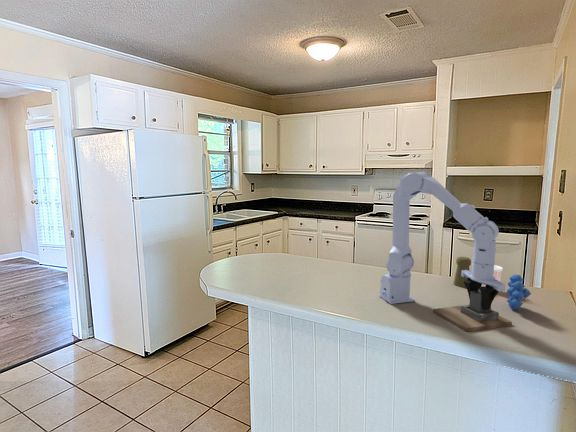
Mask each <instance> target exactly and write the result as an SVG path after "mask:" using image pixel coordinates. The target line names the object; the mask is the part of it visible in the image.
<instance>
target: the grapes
mask: <svg viewBox="0 0 576 432" xmlns="http://www.w3.org/2000/svg"><path fill="white" fill-rule="evenodd" d="M508 279H509V282H508V283H507V286H508V287H509V288H508V289H507V290H506V292H505V293H506V294H507V296H508V297H509V298H508V299H507V300H506V302H507V303H508V304H507V305H508V306H509V308H510V309H511V310H512V311H517V310H518V309H519V308H521V307H522V305H523V302H522V300H523V299H524V298H525V299H526V298H528V297H530V296H531V295H532V292H531V291H530V290H529V289H528V288H525V287H526V286H525V285H524V283H523V281H524V278H523V276H521V275H520V274H516V273H515V274H512V275H511V276H510V277H508Z"/></svg>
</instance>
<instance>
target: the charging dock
mask: <svg viewBox="0 0 576 432" xmlns="http://www.w3.org/2000/svg"><path fill="white" fill-rule="evenodd" d="M469 305H470V303H469V304H463V305H455V306H446V307H439V308H433V309H432V313H433V314H436V315H437V316H439V317H441V318H442V319H444V320H445V321H447V322H449V323H451V324H452V325H454V326H456V327H458V328H460V329H461V330H462V331H464V332H465V333H468V332H476V331H481V330H487V329H493V328H500V327H507V326H512V324H513V321H511V319H508V318H505V317H503V316H501V315H500V313H499V311H496V310H494V309H492V308H491V312H490V313H483V314H478V313H476V312H474V311H472V310H470V309H469Z"/></svg>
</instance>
